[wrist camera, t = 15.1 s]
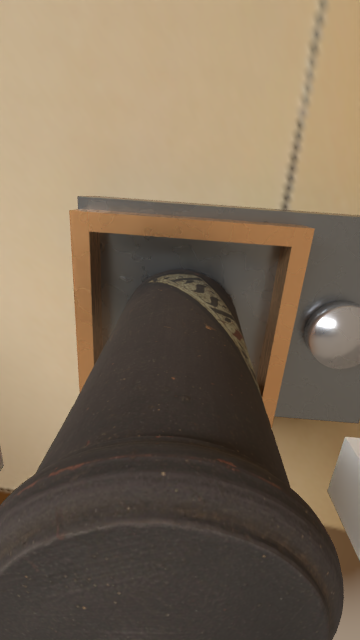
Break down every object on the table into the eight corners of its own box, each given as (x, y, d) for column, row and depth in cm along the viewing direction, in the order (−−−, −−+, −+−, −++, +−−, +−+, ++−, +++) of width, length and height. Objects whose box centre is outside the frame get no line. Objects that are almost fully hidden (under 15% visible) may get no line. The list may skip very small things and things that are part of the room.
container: (247, 353, 26) (387, 753, 7) (143, 377, 27) (35, 774, 9) (223, 250, 23) (351, 479, 4) (107, 282, 24) (-176, 570, 6)
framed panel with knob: (99, 377, 32) (77, 419, 26) (94, 195, 26) (63, 196, 20) (339, 396, 32) (373, 443, 26) (392, 218, 25) (454, 225, 19)
